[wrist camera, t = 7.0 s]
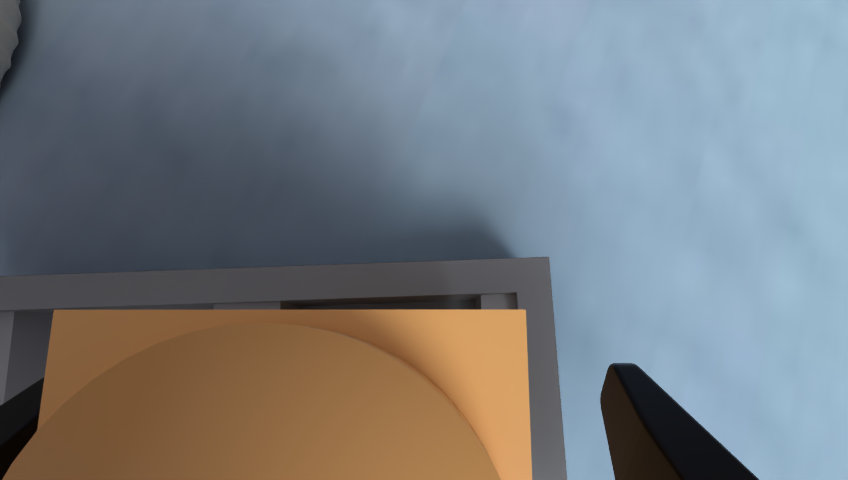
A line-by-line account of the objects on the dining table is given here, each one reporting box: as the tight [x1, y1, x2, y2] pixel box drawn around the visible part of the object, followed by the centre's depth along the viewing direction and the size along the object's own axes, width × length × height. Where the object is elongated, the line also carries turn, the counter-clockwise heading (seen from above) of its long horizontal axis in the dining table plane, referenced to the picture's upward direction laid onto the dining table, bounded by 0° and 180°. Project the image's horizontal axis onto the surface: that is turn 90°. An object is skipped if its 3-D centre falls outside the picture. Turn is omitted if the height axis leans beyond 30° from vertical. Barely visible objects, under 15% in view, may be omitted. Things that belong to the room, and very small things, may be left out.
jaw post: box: [2, 310, 532, 480], centre depth 10 cm, size 4×4×13 cm
